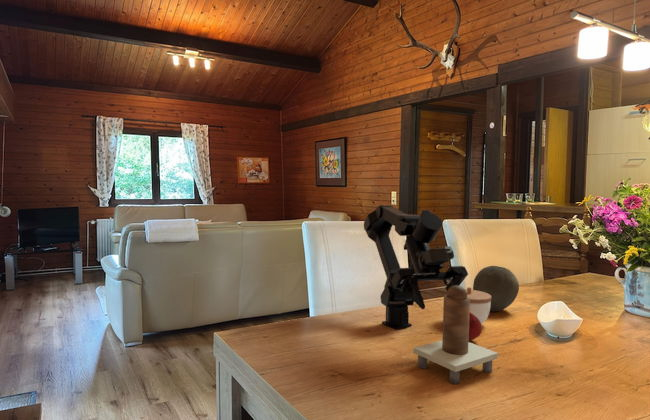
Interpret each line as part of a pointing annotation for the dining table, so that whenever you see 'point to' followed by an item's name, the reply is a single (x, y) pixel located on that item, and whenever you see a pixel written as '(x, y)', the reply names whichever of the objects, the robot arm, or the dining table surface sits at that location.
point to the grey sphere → (497, 286)
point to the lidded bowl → (479, 303)
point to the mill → (456, 321)
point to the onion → (474, 327)
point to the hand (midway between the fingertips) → (441, 307)
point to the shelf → (455, 358)
